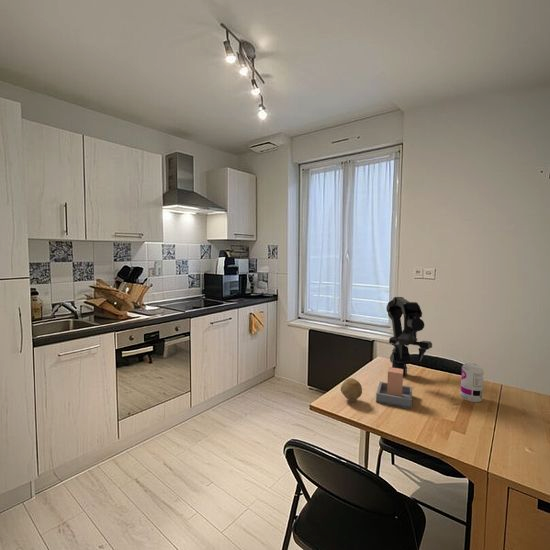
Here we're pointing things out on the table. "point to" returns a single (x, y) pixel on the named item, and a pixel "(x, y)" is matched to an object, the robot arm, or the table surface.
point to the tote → (394, 400)
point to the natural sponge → (351, 389)
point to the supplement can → (472, 382)
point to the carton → (395, 382)
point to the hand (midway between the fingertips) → (409, 360)
